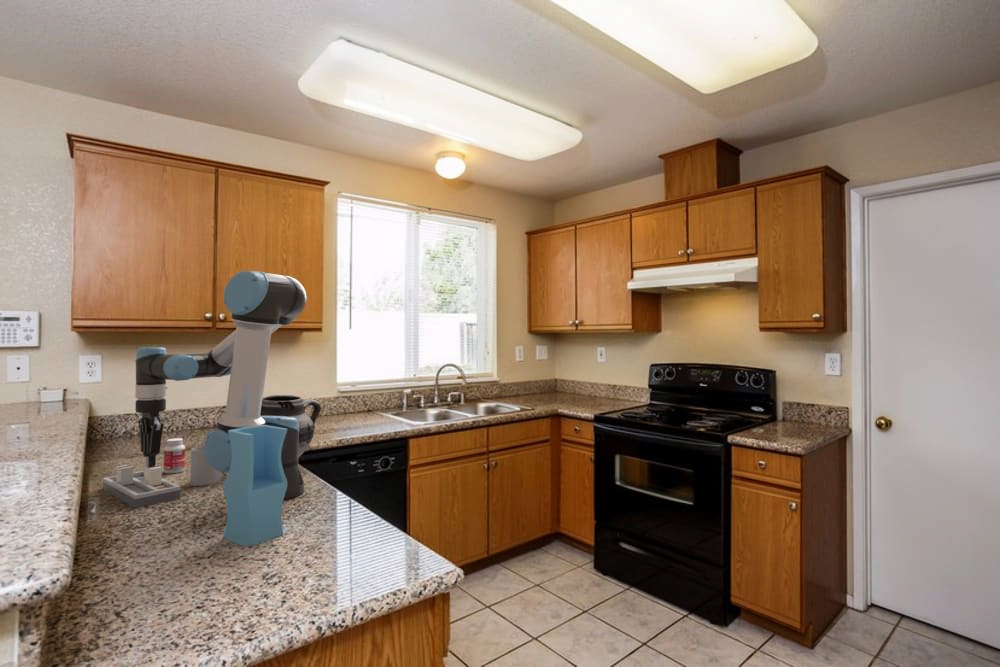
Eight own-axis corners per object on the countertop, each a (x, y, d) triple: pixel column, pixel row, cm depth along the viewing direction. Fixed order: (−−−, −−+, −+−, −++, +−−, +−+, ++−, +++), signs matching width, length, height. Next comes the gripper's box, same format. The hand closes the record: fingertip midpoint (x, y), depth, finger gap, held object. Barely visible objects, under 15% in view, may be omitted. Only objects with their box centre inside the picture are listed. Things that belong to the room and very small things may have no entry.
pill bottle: (172, 474, 170) (173, 441, 170) (159, 473, 172) (159, 440, 172) (189, 470, 176) (189, 438, 176) (175, 468, 178) (176, 437, 178)
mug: (219, 484, 160) (219, 449, 160) (187, 487, 157) (188, 451, 157) (224, 474, 171) (224, 442, 171) (194, 477, 168) (195, 444, 168)
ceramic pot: (309, 454, 202) (310, 391, 202) (330, 466, 184) (331, 397, 184) (229, 465, 184) (230, 396, 184) (244, 479, 166) (245, 402, 166)
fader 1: (133, 483, 151) (133, 466, 151) (120, 485, 149) (121, 468, 149) (128, 481, 153) (128, 464, 153) (116, 483, 151) (116, 465, 151)
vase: (247, 547, 113) (248, 435, 113) (222, 537, 118) (224, 430, 118) (286, 533, 121) (288, 428, 121) (261, 524, 126) (263, 424, 127)
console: (180, 498, 146) (180, 486, 146) (135, 508, 137) (135, 495, 137) (144, 481, 162) (145, 470, 163) (102, 489, 154) (102, 478, 154)
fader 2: (161, 484, 151) (161, 466, 151) (149, 486, 148) (150, 468, 148) (156, 481, 153) (156, 464, 153) (144, 484, 151) (145, 466, 151)
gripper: (173, 399, 152) (172, 478, 151) (156, 395, 159) (155, 470, 159) (144, 401, 146) (143, 483, 145) (128, 397, 154) (127, 476, 153)
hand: (150, 476), depth 152 cm, fingers closed
